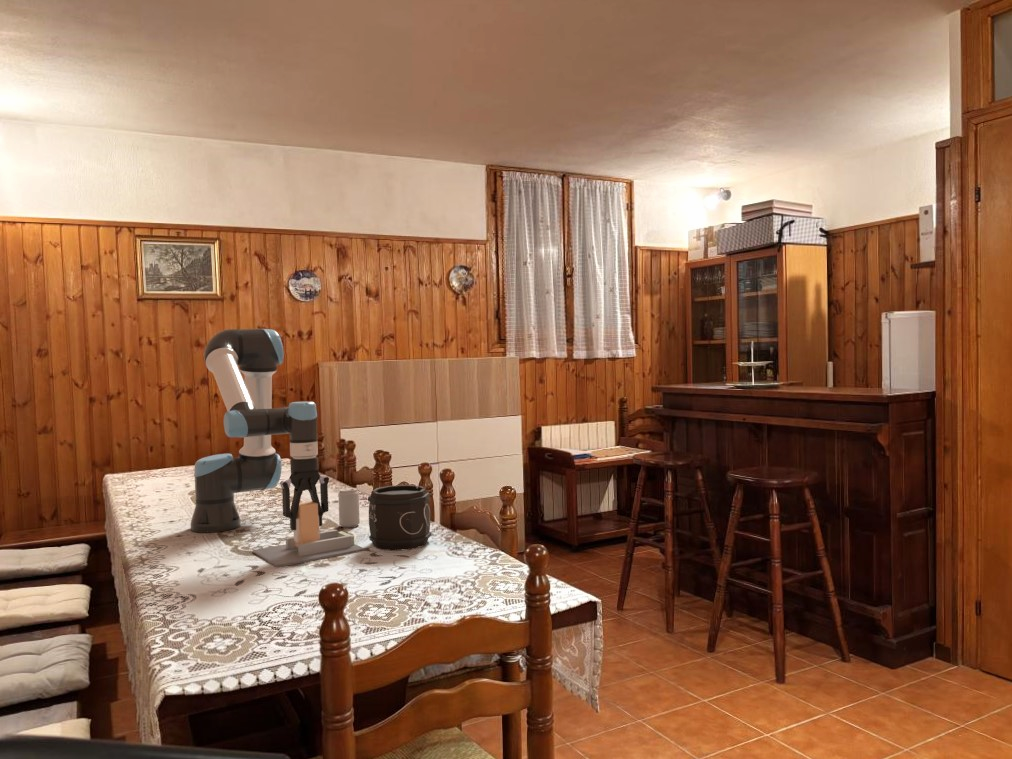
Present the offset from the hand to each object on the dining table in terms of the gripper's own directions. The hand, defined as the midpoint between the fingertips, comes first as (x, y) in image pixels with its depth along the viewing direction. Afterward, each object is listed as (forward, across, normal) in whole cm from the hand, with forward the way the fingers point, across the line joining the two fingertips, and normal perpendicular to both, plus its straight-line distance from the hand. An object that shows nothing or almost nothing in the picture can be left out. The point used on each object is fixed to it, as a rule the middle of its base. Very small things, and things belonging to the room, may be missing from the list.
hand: (306, 539), depth 212 cm
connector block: (+2, 0, 0) cm, 2 cm away
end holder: (+3, 0, 0) cm, 3 cm away
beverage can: (+4, +23, +22) cm, 32 cm away
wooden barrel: (+4, +25, -9) cm, 27 cm away
